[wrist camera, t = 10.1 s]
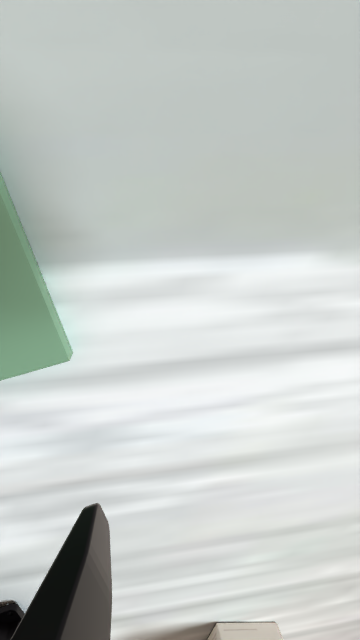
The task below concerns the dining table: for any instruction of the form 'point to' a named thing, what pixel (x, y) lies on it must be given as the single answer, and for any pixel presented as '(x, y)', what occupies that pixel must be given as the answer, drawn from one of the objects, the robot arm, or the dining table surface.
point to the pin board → (25, 303)
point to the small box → (246, 631)
